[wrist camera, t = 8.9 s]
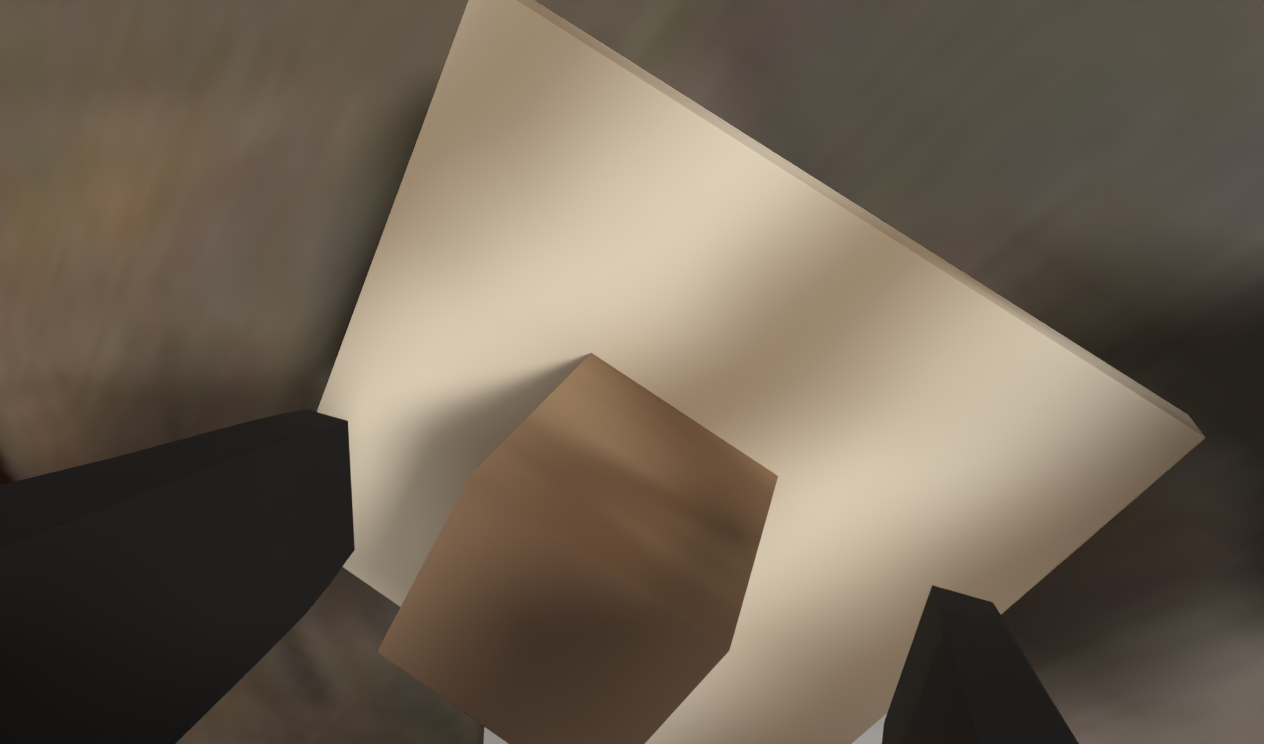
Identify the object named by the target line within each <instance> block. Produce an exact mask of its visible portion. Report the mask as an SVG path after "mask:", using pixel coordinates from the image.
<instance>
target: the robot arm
mask: <svg viewBox="0 0 1264 744" xmlns="http://www.w3.org/2000/svg"><path fill="white" fill-rule="evenodd" d="M354 550H355V546H354V527H353V508H352V489H351V469H350V450H349V431H348V421H347V420H343V419H340V418H336V417H332V416H329V415H325V414H322V413H318V412H315V411H311V410H302V411H297V412H291V413H285V414H280V415H276V416H271V417H267V418H263V419H258V420H254V421H250V422H246V423H242V424H238V425H234V426H231V427H227V428H223V429H219V430H215V431H212V432H208V433H204V434H200V435H197V436H193V437H189V438H186V439H182V440H178V441H174V442H171V443H167V444H163V445H159V446H156V447H152V448H148V449H145V450H141V451H137V452H133V453H130V454H126V455H122V456H118V457H115V458H111V459H107V460H103V461H98V462H94V463H90V464H86V465H82V466H78V467H74V468H70V469H65V470H61V471H57V472H53V473H49V474H45V475H41V476H36V477H32V478H28V479H24V480H20V481H16V482H12V483H8V484H3V485H0V744H175V743H176V742H177V741H178V740H179V739H180V738H181V737H182V736H183V735H184V734H185V733H186V732H187V731H189V730H190V729H191V728H192V727H193V726H194V725H195V724H196V723H197V722H198V721H199V720H200V719H201V718H202V717H203V716H204V715H205V714H206V713H207V712H208V711H209V710H210V709H211V708H212V707H213V706H214V705H215V704H216V703H217V702H218V701H219V700H220V699H221V698H222V697H223V696H224V695H225V694H226V693H227V692H228V691H229V690H230V689H231V688H232V687H233V686H234V685H235V684H236V683H237V682H238V681H239V680H240V679H241V678H242V677H243V676H244V675H245V674H246V673H247V672H248V671H249V670H250V669H251V668H252V667H253V666H254V665H255V664H257V663H258V662H259V661H260V659H261V658H262V657H263V656H264V655H265V654H266V653H267V652H268V651H269V650H270V649H271V648H272V647H273V646H274V645H275V644H276V643H277V642H278V641H279V640H280V639H281V638H282V637H283V636H284V635H285V634H286V633H287V632H288V631H289V630H290V629H291V628H292V627H293V626H294V625H295V624H296V623H297V622H298V621H299V620H300V619H301V618H302V617H303V616H304V615H305V614H306V613H307V611H308V610H309V609H310V608H311V606H312V605H313V604H314V603H315V601H316V600H317V599H318V598H319V596H320V595H321V594H322V593H323V592H324V590H325V589H326V588H327V587H328V585H329V584H330V583H331V581H332V580H333V579H334V577H335V576H336V575H337V573H338V572H339V570H340V569H341V568H342V566H343V565H344V564H345V562H346V561H347V560H348V558H349V557H350V556H351V554H352V553H353V552H354ZM882 744H1079V743H1078V742H1077V740H1076V738H1075V737H1074V735H1073V734H1072V732H1071V730H1070V729H1069V727H1068V726H1067V724H1066V722H1065V721H1064V719H1063V718H1062V716H1061V714H1060V713H1059V711H1058V709H1057V708H1056V706H1055V704H1054V703H1053V701H1052V699H1051V698H1050V696H1049V695H1048V693H1047V691H1046V690H1045V688H1044V686H1043V685H1042V683H1041V681H1040V680H1039V678H1038V676H1037V675H1036V673H1035V671H1034V670H1033V668H1032V666H1031V665H1030V663H1029V661H1028V660H1027V658H1026V656H1025V654H1024V653H1023V651H1022V649H1021V648H1020V646H1019V644H1018V643H1017V641H1016V639H1015V638H1014V636H1013V634H1012V633H1011V631H1010V629H1009V628H1008V626H1007V624H1006V623H1005V621H1004V619H1003V618H1002V616H1001V614H1000V613H999V611H998V610H997V608H996V606H995V605H994V603H993V602H990V601H987V600H983V599H979V598H976V597H972V596H969V595H965V594H962V593H958V592H955V591H951V590H947V589H944V588H940V587H937V586H933V585H932V587H931V590H930V593H929V596H928V598H927V601H926V604H925V607H924V610H923V613H922V616H921V618H920V621H919V624H918V627H917V630H916V633H915V635H914V638H913V641H912V644H911V647H910V650H909V653H908V655H907V658H906V661H905V664H904V667H903V670H902V673H901V675H900V678H899V681H898V684H897V687H896V690H895V693H894V695H893V698H892V701H891V704H890V707H889V710H888V713H887V715H886V718H885V721H884V727H883V737H882Z"/></svg>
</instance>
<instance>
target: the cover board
mask: <svg viewBox="0 0 1264 744" xmlns="http://www.w3.org/2000/svg"><path fill="white" fill-rule="evenodd" d="M317 412H318V413H322V414H325V415H329V416H332V417H336V418H340V419H343V420H347V421H348V431H349V450H350V469H351V489H352V508H353V527H354V546H355V550H354V552H353V553H352V554H351V556H350V557H349V558H348V560H347V561H346V562H345V564H344V565H343V566H342V567H344V568H345V569H346V570H348V571H349V572H351V573H352V574H354V575H355V576H357V577H358V578H359V579H361V580H362V581H364V582H365V583H367V584H368V585H370V586H371V587H372V588H374V589H375V590H377V591H378V592H380V593H381V594H383V595H384V596H385V597H387V598H388V599H390V600H391V601H393V602H394V603H396V604H397V605H398V606H400V609H399V611H398V613H397V615H396V617H395V618H394V620H393V622H392V624H391V626H390V628H389V630H388V632H387V634H386V635H385V637H384V639H383V641H382V643H381V645H380V647H379V649H378V651H377V652H378V653H379V654H381V655H382V656H383V657H385V658H386V659H388V660H389V661H391V662H392V663H393V664H395V665H396V666H398V667H399V668H401V669H402V670H404V671H405V672H406V673H408V674H409V675H411V676H412V677H414V678H415V679H416V680H418V681H419V682H421V683H422V684H424V685H425V686H426V687H428V688H429V689H431V690H432V691H434V692H435V693H436V694H438V695H439V696H441V697H442V698H444V699H445V700H447V701H448V702H449V703H451V704H452V705H454V706H455V707H457V708H458V709H459V710H461V711H462V712H464V713H465V714H467V715H468V716H469V717H471V718H472V719H474V720H475V721H477V722H478V723H479V724H481V725H482V726H484V727H485V728H487V729H488V730H490V731H491V732H492V733H494V734H495V735H497V736H498V737H500V738H501V739H502V740H504V741H505V742H507V743H508V744H852V743H853V742H854V741H855V740H856V739H858V738H859V737H860V736H861V735H862V734H863V733H865V732H866V731H867V730H868V729H869V728H870V727H872V726H873V725H874V724H875V723H876V722H877V721H878V720H880V719H881V718H882V717H883V716H884V715H885V714H887V713H888V710H889V707H890V704H891V701H892V698H893V695H894V693H895V690H896V687H897V684H898V681H899V678H900V675H901V673H902V670H903V667H904V664H905V661H906V658H907V655H908V653H909V650H910V647H911V644H912V641H913V638H914V635H915V633H916V630H917V627H918V624H919V621H920V618H921V616H922V613H923V610H924V607H925V604H926V601H927V598H928V596H929V593H930V590H931V587H932V585H933V586H937V587H940V588H944V589H947V590H951V591H955V592H958V593H962V594H965V595H969V596H972V597H976V598H979V599H983V600H987V601H990V602H993V603H994V605H995V606H996V608H997V610H998V611H999V613H1000V614H1002V613H1003V612H1005V611H1006V610H1007V609H1008V608H1009V607H1010V606H1012V605H1013V604H1014V603H1015V602H1016V601H1017V600H1018V599H1020V598H1021V597H1022V596H1023V595H1024V594H1025V593H1027V592H1028V591H1029V590H1030V589H1031V588H1032V587H1033V586H1035V585H1036V584H1037V583H1038V582H1039V581H1040V580H1042V579H1043V578H1044V577H1045V576H1046V575H1047V574H1049V573H1050V572H1051V571H1052V570H1053V569H1054V568H1055V567H1057V566H1058V565H1059V564H1060V563H1061V562H1062V561H1064V560H1065V559H1066V558H1067V557H1068V556H1069V555H1071V554H1072V553H1073V552H1074V551H1075V550H1076V549H1077V548H1079V547H1080V546H1081V545H1082V544H1083V543H1084V542H1086V541H1087V540H1088V539H1089V538H1090V537H1091V536H1092V535H1094V534H1095V533H1096V532H1097V531H1098V530H1099V529H1101V528H1102V527H1103V526H1104V525H1105V524H1106V523H1108V522H1109V521H1110V520H1111V519H1112V518H1113V517H1114V516H1116V515H1117V514H1118V513H1119V512H1120V511H1121V510H1123V509H1124V508H1125V507H1126V506H1127V505H1128V504H1130V503H1131V502H1132V501H1133V500H1134V499H1135V498H1136V497H1138V496H1139V495H1140V494H1141V493H1142V492H1143V491H1145V490H1146V489H1147V488H1148V487H1149V486H1150V485H1152V484H1153V483H1154V482H1155V481H1156V480H1157V479H1158V478H1160V477H1161V476H1162V475H1163V474H1164V473H1165V472H1167V471H1168V470H1169V469H1170V468H1171V467H1172V466H1173V465H1175V464H1176V463H1177V462H1178V461H1179V460H1180V459H1182V458H1183V457H1184V456H1185V455H1186V454H1187V453H1189V452H1190V451H1191V450H1192V449H1193V448H1194V447H1195V446H1197V445H1198V444H1199V443H1200V442H1201V441H1202V440H1204V439H1205V438H1206V437H1205V436H1204V435H1203V434H1202V432H1201V431H1200V430H1199V428H1198V427H1197V426H1196V425H1195V423H1194V422H1193V421H1192V419H1191V418H1190V417H1189V415H1188V414H1186V413H1184V412H1183V411H1181V410H1180V409H1178V408H1177V407H1175V406H1173V405H1172V404H1170V403H1169V402H1167V401H1166V400H1164V399H1162V398H1161V397H1159V396H1158V395H1156V394H1154V393H1153V392H1151V391H1150V390H1148V389H1147V388H1145V387H1143V386H1142V385H1140V384H1139V383H1137V382H1136V381H1134V380H1132V379H1131V378H1129V377H1128V376H1126V375H1125V374H1123V373H1121V372H1120V371H1118V370H1117V369H1115V368H1113V367H1112V366H1110V365H1109V364H1107V363H1106V362H1104V361H1102V360H1101V359H1099V358H1098V357H1096V356H1095V355H1093V354H1091V353H1090V352H1088V351H1087V350H1085V349H1083V348H1082V347H1080V346H1079V345H1077V344H1076V343H1074V342H1072V341H1071V340H1069V339H1068V338H1066V337H1065V336H1063V335H1061V334H1060V333H1058V332H1057V331H1055V330H1054V329H1052V328H1050V327H1049V326H1047V325H1046V324H1044V323H1042V322H1041V321H1039V320H1038V319H1036V318H1035V317H1033V316H1031V315H1030V314H1028V313H1027V312H1025V311H1024V310H1022V309H1020V308H1019V307H1017V306H1016V305H1014V304H1012V303H1011V302H1009V301H1008V300H1006V299H1005V298H1003V297H1001V296H1000V295H998V294H997V293H995V292H994V291H992V290H990V289H989V288H987V287H986V286H984V285H983V284H981V283H979V282H978V281H976V280H975V279H973V278H971V277H970V276H968V275H967V274H965V273H964V272H962V271H960V270H959V269H957V268H956V267H954V266H953V265H951V264H949V263H948V262H946V261H945V260H943V259H941V258H940V257H938V256H937V255H935V254H934V253H932V252H930V251H929V250H927V249H926V248H924V247H923V246H921V245H919V244H918V243H916V242H915V241H913V240H911V239H910V238H908V237H907V236H905V235H904V234H902V233H900V232H899V231H897V230H896V229H894V228H893V227H891V226H889V225H888V224H886V223H885V222H883V221H882V220H880V219H878V218H877V217H875V216H874V215H872V214H870V213H869V212H867V211H866V210H864V209H863V208H861V207H859V206H858V205H856V204H855V203H853V202H852V201H850V200H848V199H847V198H845V197H844V196H842V195H840V194H839V193H837V192H836V191H834V190H833V189H831V188H829V187H828V186H826V185H825V184H823V183H822V182H820V181H818V180H817V179H815V178H814V177H812V176H811V175H809V174H807V173H806V172H804V171H803V170H801V169H799V168H798V167H796V166H795V165H793V164H792V163H790V162H788V161H787V160H785V159H784V158H782V157H781V156H779V155H777V154H776V153H774V152H773V151H771V150H769V149H768V148H766V147H765V146H763V145H762V144H760V143H758V142H757V141H755V140H754V139H752V138H751V137H749V136H747V135H746V134H744V133H743V132H741V131H740V130H738V129H736V128H735V127H733V126H732V125H730V124H728V123H727V122H725V121H724V120H722V119H721V118H719V117H717V116H716V115H714V114H713V113H711V112H710V111H708V110H706V109H705V108H703V107H702V106H700V105H698V104H697V103H695V102H694V101H692V100H691V99H689V98H687V97H686V96H684V95H683V94H681V93H680V92H678V91H676V90H675V89H673V88H672V87H670V86H669V85H667V84H665V83H664V82H662V81H661V80H659V79H657V78H656V77H654V76H653V75H651V74H650V73H648V72H646V71H645V70H643V69H642V68H640V67H639V66H637V65H635V64H634V63H632V62H631V61H629V60H627V59H626V58H624V57H623V56H621V55H620V54H618V53H616V52H615V51H613V50H612V49H610V48H609V47H607V46H605V45H604V44H602V43H601V42H599V41H598V40H596V39H594V38H593V37H591V36H590V35H588V34H586V33H585V32H583V31H582V30H580V29H579V28H577V27H575V26H574V25H572V24H571V23H569V22H568V21H566V20H564V19H563V18H561V17H560V16H558V15H556V14H555V13H553V12H552V11H550V10H549V9H547V8H545V7H544V6H542V5H541V4H539V3H538V2H536V1H534V0H469V1H468V4H467V6H466V9H465V12H464V14H463V17H462V20H461V23H460V25H459V28H458V31H457V33H456V36H455V39H454V42H453V44H452V47H451V50H450V52H449V55H448V58H447V60H446V63H445V66H444V69H443V71H442V74H441V77H440V79H439V82H438V85H437V88H436V90H435V93H434V96H433V98H432V101H431V104H430V107H429V109H428V112H427V115H426V117H425V120H424V123H423V126H422V128H421V131H420V134H419V136H418V139H417V142H416V144H415V147H414V150H413V153H412V155H411V158H410V161H409V163H408V166H407V169H406V172H405V174H404V177H403V180H402V182H401V185H400V188H399V191H398V193H397V196H396V199H395V201H394V204H393V207H392V209H391V212H390V215H389V218H388V220H387V223H386V226H385V228H384V231H383V234H382V237H381V239H380V242H379V245H378V247H377V250H376V253H375V256H374V258H373V261H372V264H371V266H370V269H369V272H368V275H367V277H366V280H365V283H364V285H363V288H362V291H361V293H360V296H359V299H358V302H357V304H356V307H355V310H354V312H353V315H352V318H351V321H350V323H349V326H348V329H347V331H346V334H345V337H344V340H343V342H342V345H341V348H340V350H339V353H338V356H337V358H336V361H335V364H334V367H333V369H332V372H331V375H330V377H329V380H328V383H327V386H326V388H325V391H324V394H323V396H322V399H321V402H320V405H319V407H318V410H317Z"/></svg>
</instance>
